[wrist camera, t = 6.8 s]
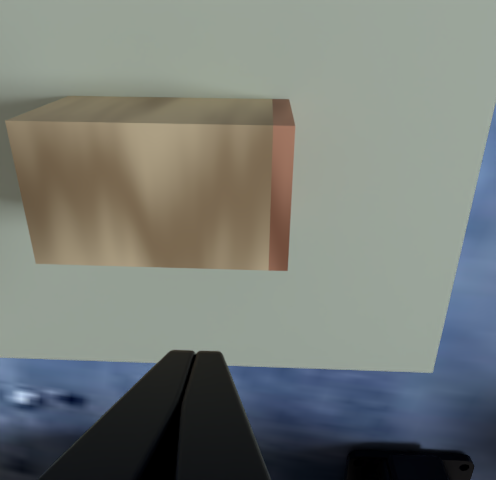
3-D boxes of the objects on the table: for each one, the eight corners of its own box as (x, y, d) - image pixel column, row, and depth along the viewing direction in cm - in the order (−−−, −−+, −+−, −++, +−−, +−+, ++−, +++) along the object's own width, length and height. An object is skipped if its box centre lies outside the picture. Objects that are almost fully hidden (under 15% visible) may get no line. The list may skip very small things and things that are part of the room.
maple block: (287, 271, 14) (35, 263, 15) (283, 215, 19) (86, 210, 19) (295, 126, 13) (5, 120, 13) (289, 99, 17) (68, 95, 17)
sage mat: (428, 364, 22) (432, 372, 22) (-22, 348, 23) (-29, 356, 22) (550, -176, 14) (561, -183, 13) (-180, -171, 14) (-198, -179, 14)
